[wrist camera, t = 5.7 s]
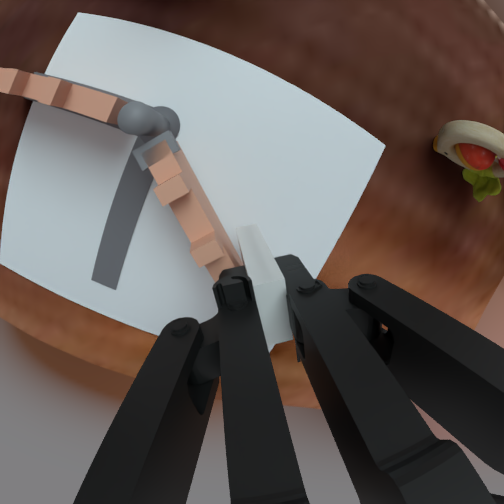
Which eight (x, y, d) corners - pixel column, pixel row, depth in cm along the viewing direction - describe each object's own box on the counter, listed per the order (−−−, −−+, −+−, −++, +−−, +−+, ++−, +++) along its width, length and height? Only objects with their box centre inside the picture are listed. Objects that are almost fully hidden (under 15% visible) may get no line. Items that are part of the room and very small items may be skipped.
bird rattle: (413, 175, 22) (488, 208, 20) (470, 178, 11) (558, 231, 10) (425, 111, 20) (499, 148, 18) (482, 78, 9) (571, 145, 8)
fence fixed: (25, 93, 13) (-36, 85, 6) (32, 76, 12) (-26, 61, 6) (165, 141, 16) (139, 139, 10) (174, 121, 16) (154, 106, 9)
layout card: (-6, 256, 16) (-9, 259, 16) (70, 13, 11) (67, 10, 10) (259, 362, 23) (260, 366, 23) (382, 145, 18) (386, 145, 18)
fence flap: (153, 149, 16) (124, 152, 10) (179, 134, 15) (163, 128, 10) (230, 286, 20) (241, 344, 14) (254, 274, 19) (274, 328, 14)
